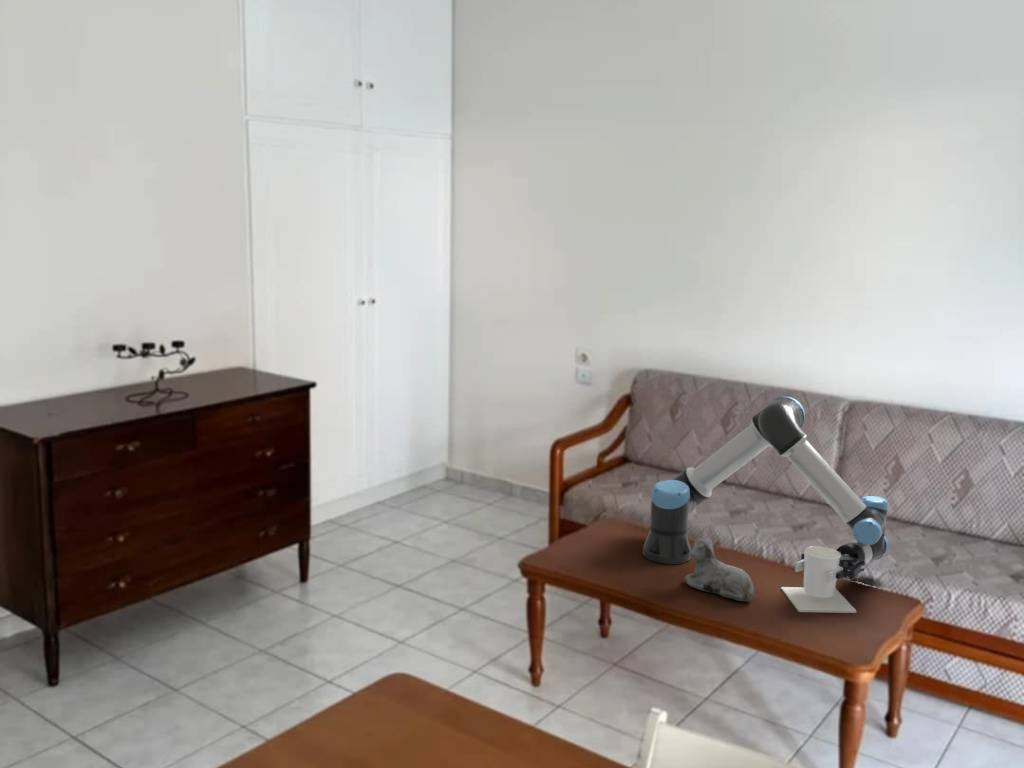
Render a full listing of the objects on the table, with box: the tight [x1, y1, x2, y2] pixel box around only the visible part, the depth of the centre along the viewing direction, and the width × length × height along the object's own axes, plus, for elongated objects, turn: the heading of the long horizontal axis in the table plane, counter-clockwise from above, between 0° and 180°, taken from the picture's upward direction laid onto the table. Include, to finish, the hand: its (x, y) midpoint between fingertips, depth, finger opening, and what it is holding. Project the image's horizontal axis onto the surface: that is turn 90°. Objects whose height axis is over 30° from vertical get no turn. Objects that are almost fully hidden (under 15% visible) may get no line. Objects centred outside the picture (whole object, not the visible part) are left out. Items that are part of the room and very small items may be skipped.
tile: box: [780, 586, 857, 614], centre depth 266 cm, size 16×16×1 cm
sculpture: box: [684, 536, 755, 602], centre depth 269 cm, size 11×21×15 cm, turn 64°
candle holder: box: [803, 545, 841, 598], centre depth 265 cm, size 10×10×12 cm
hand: (812, 572), depth 262 cm, fingers closed on candle holder, 9 cm apart
